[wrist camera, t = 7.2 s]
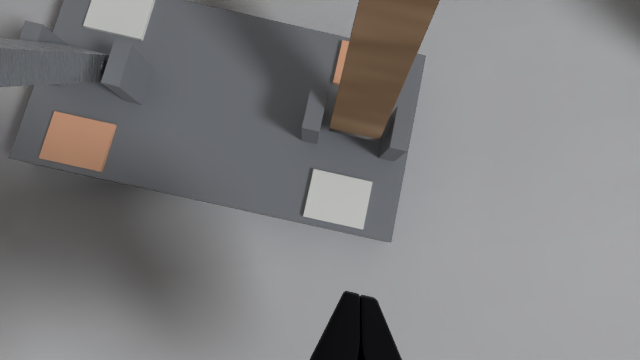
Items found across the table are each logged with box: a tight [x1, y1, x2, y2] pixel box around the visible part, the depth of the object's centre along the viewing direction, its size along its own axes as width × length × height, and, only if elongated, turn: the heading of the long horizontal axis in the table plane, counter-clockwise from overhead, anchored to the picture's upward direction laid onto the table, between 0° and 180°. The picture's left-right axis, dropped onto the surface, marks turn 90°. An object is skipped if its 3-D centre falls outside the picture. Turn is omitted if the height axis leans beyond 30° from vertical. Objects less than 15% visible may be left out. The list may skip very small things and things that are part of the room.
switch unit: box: [9, 0, 426, 242], centre depth 18 cm, size 10×19×4 cm, turn 78°
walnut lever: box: [329, 0, 440, 142], centre depth 13 cm, size 3×3×13 cm
